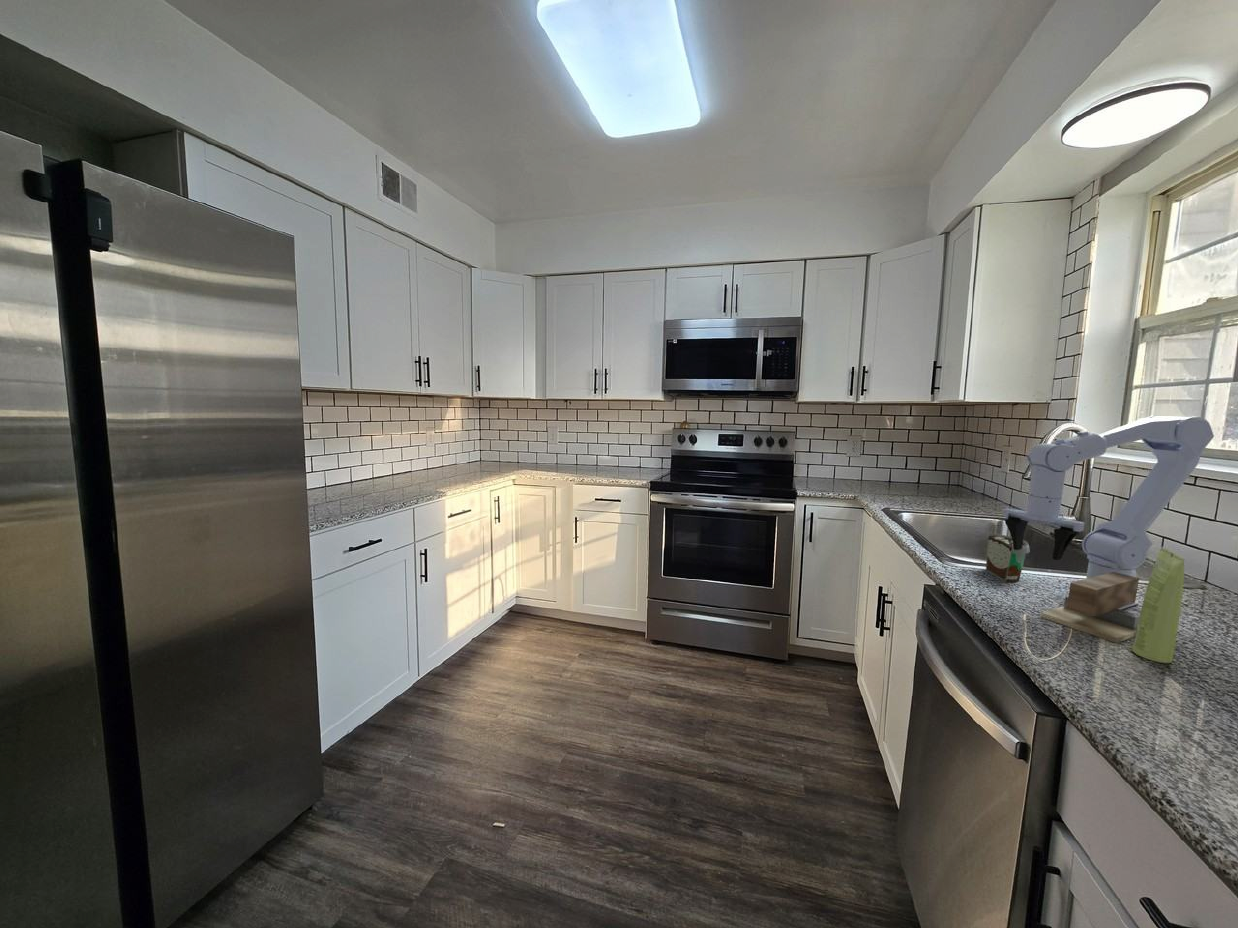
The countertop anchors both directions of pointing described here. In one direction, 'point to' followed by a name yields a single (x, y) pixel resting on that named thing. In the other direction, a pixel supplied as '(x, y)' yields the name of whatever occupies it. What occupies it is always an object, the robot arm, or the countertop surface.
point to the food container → (1005, 557)
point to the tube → (1161, 609)
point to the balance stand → (1097, 622)
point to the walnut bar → (1102, 593)
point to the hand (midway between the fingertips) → (1036, 554)
